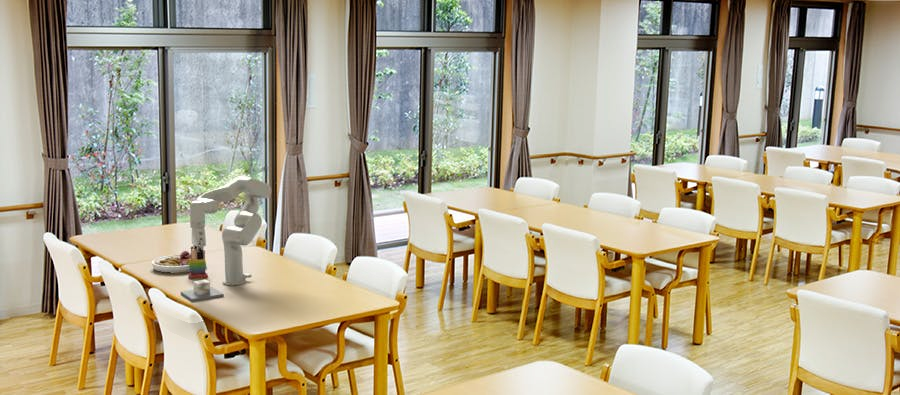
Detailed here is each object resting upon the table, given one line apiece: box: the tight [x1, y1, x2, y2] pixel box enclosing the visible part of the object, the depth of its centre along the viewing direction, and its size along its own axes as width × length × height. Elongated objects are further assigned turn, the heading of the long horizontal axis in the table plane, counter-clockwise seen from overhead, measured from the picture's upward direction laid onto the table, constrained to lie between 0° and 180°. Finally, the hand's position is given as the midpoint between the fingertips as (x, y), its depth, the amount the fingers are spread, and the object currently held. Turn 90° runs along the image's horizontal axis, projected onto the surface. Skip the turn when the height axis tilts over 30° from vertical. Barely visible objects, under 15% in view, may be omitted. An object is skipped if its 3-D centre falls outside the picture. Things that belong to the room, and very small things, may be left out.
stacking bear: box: [187, 246, 209, 279], centre depth 527 cm, size 11×10×18 cm
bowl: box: [151, 250, 192, 274], centre depth 547 cm, size 30×30×8 cm
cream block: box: [193, 279, 211, 295], centre depth 490 cm, size 6×6×6 cm
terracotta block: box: [190, 248, 206, 261], centre depth 491 cm, size 6×6×5 cm
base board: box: [180, 286, 225, 303], centre depth 490 cm, size 17×17×2 cm
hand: (198, 257), depth 491 cm, fingers closed on terracotta block, 5 cm apart
